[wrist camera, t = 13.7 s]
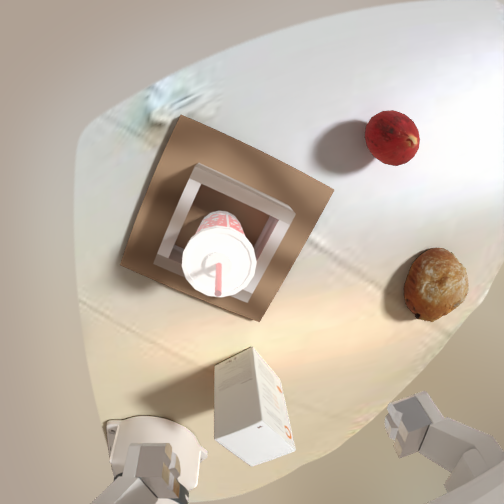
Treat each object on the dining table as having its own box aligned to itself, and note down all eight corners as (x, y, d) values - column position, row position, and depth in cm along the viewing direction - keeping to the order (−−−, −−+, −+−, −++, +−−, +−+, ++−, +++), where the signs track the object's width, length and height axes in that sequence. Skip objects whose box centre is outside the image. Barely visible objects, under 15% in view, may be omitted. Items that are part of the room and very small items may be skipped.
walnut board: (258, 317, 40) (262, 341, 35) (122, 261, 36) (109, 279, 31) (331, 188, 35) (347, 197, 30) (182, 115, 31) (174, 111, 26)
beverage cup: (184, 248, 35) (163, 316, 22) (202, 195, 33) (187, 238, 20) (237, 265, 36) (245, 340, 23) (257, 214, 34) (277, 267, 21)
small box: (213, 364, 42) (212, 439, 30) (252, 344, 41) (263, 419, 29) (244, 397, 45) (251, 468, 33) (281, 380, 44) (297, 450, 32)
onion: (345, 143, 33) (376, 147, 26) (368, 102, 31) (404, 96, 24) (384, 170, 34) (421, 181, 27) (405, 130, 33) (445, 133, 25)
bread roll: (447, 263, 44) (485, 262, 36) (430, 326, 43) (469, 333, 35) (406, 239, 42) (446, 234, 34) (387, 309, 40) (427, 315, 33)
